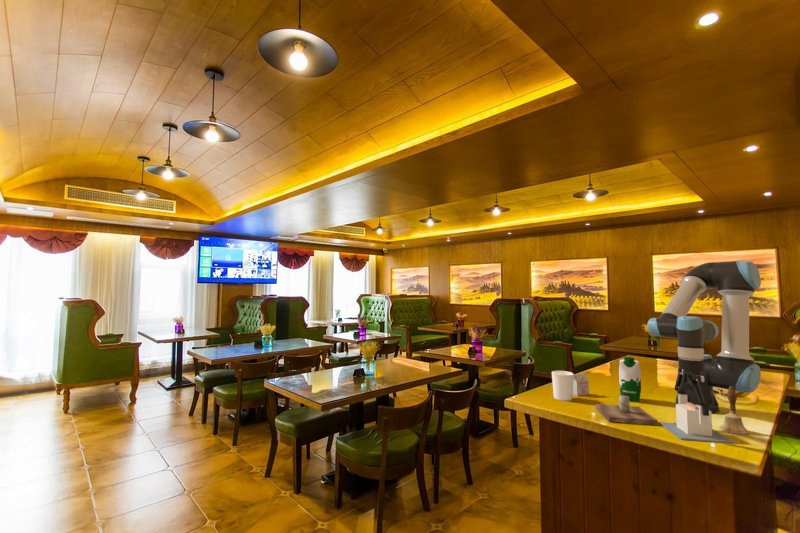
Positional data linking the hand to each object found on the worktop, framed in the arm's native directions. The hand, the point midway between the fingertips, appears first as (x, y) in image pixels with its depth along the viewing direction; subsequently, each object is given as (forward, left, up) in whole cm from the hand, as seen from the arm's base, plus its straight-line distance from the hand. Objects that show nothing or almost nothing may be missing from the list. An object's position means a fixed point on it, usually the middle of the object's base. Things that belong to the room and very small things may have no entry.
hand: (693, 418), depth 136 cm
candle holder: (+37, -36, -6) cm, 52 cm away
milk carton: (+6, -41, -6) cm, 42 cm away
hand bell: (-16, -6, -6) cm, 18 cm away
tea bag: (+27, -45, -6) cm, 53 cm away
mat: (0, 0, -5) cm, 5 cm away
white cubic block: (0, 0, -5) cm, 5 cm away
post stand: (+18, -14, -5) cm, 23 cm away
